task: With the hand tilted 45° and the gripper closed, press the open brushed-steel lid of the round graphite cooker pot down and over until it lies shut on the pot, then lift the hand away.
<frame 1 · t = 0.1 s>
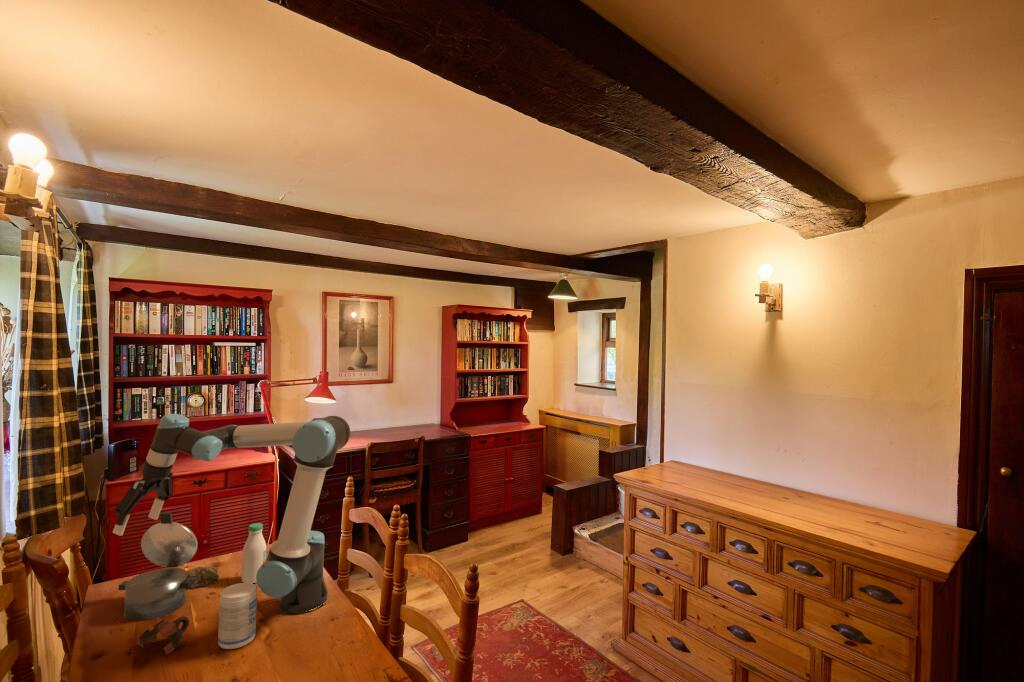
hand: (135, 525, 151), 28 cm above the table, tool tilted 20°, fingers open, 13 cm apart
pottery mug: (165, 646, 136), on the table
supplement tub: (236, 641, 139), on the table
cooker pot: (155, 606, 156), on the table
speckled stone: (200, 581, 174), on the table
milk bottle: (253, 580, 176), on the table
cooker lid: (169, 540, 162), point 19 cm above the table, hinge at 75.0°
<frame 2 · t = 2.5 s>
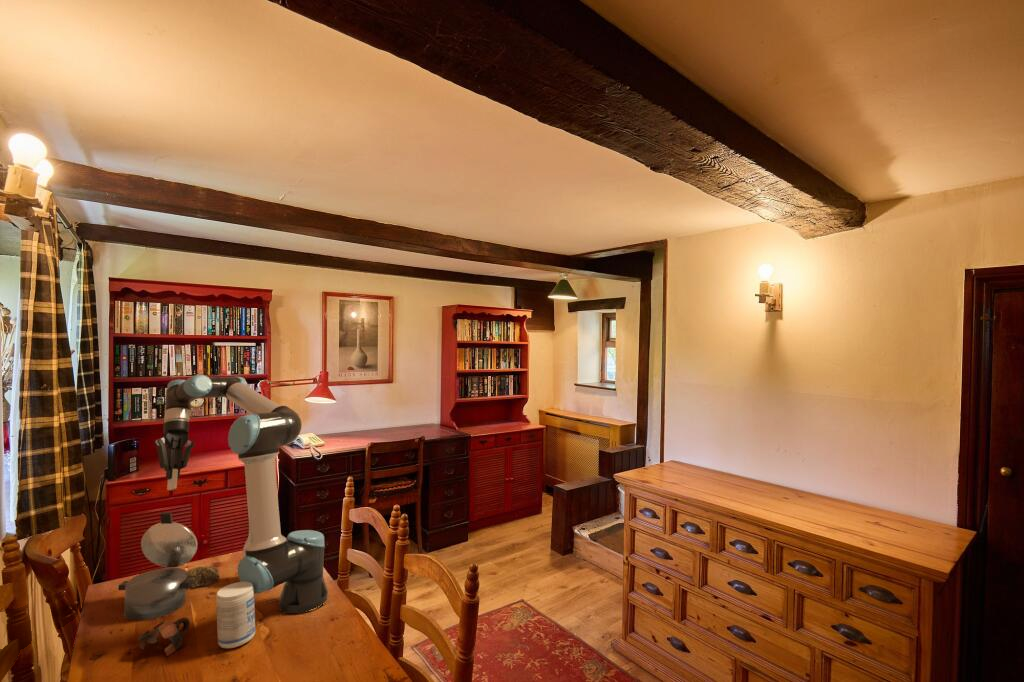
hand: (171, 489, 164), 36 cm above the table, tool tilted 25°, fingers closed
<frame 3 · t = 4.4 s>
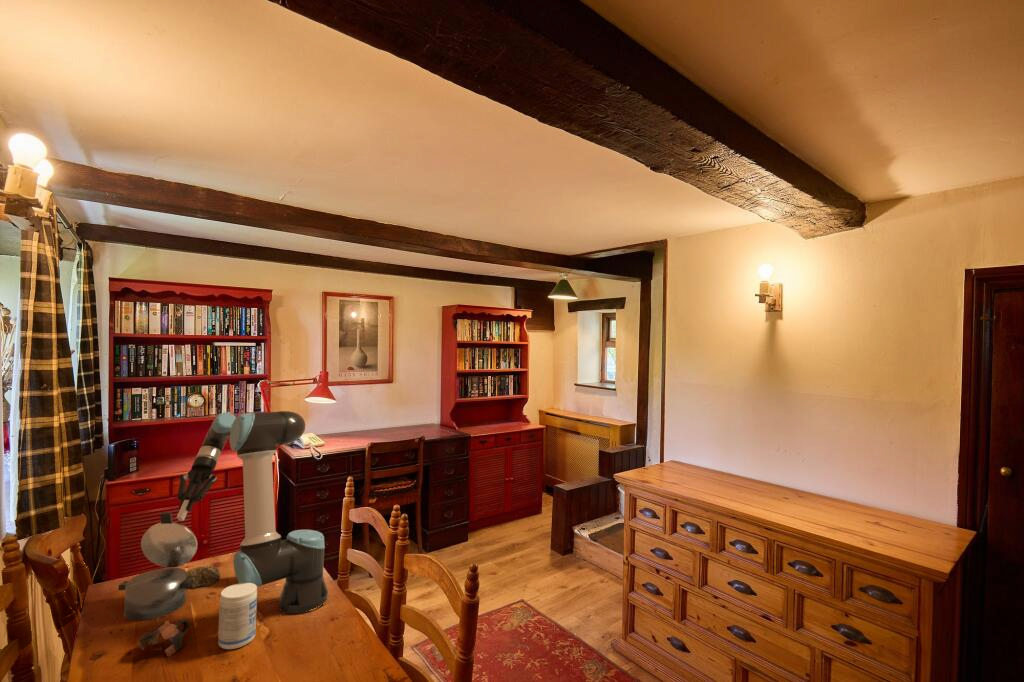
hand: (180, 518, 169), 24 cm above the table, tool tilted 45°, fingers closed
supplement tub: (236, 641, 139), on the table, touching arm
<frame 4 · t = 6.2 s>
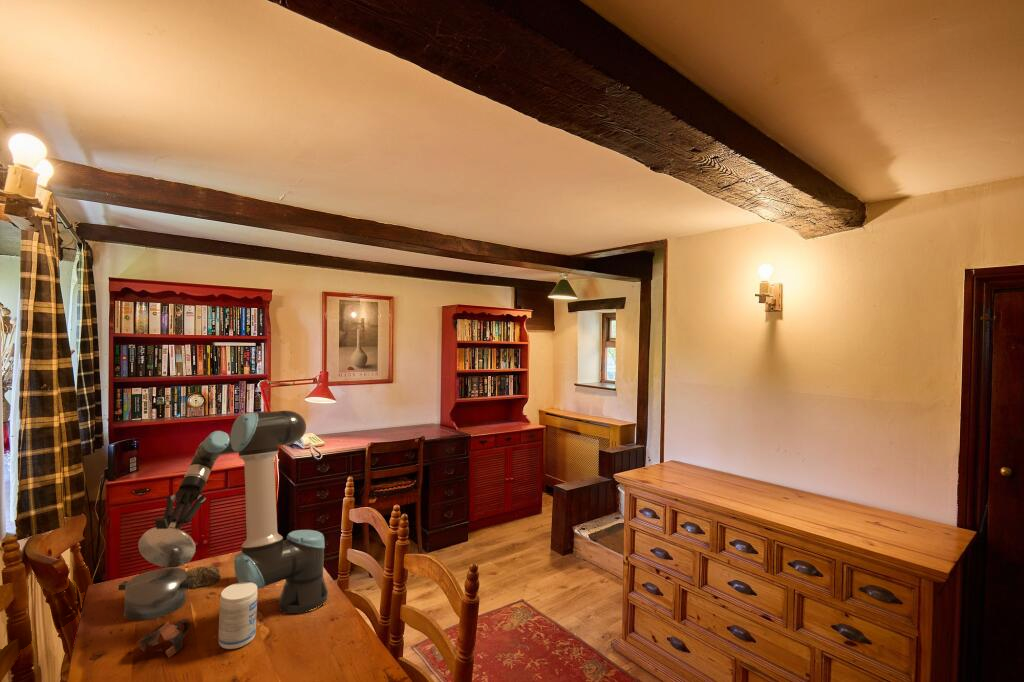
hand: (166, 542, 162), 18 cm above the table, tool tilted 45°, fingers closed
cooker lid: (166, 543, 161), point 19 cm above the table, hinge at 66.3°, touching gripper
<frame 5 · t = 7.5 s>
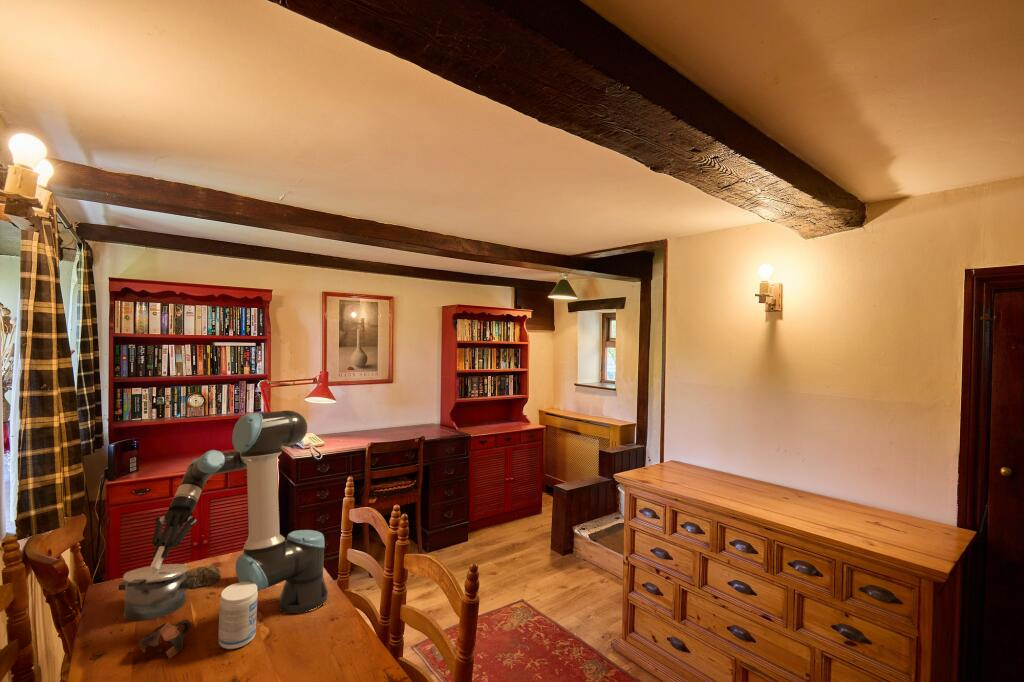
hand: (154, 568, 155), 13 cm above the table, tool tilted 45°, fingers closed
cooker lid: (153, 574, 154), point 11 cm above the table, hinge at 9.3°, touching gripper
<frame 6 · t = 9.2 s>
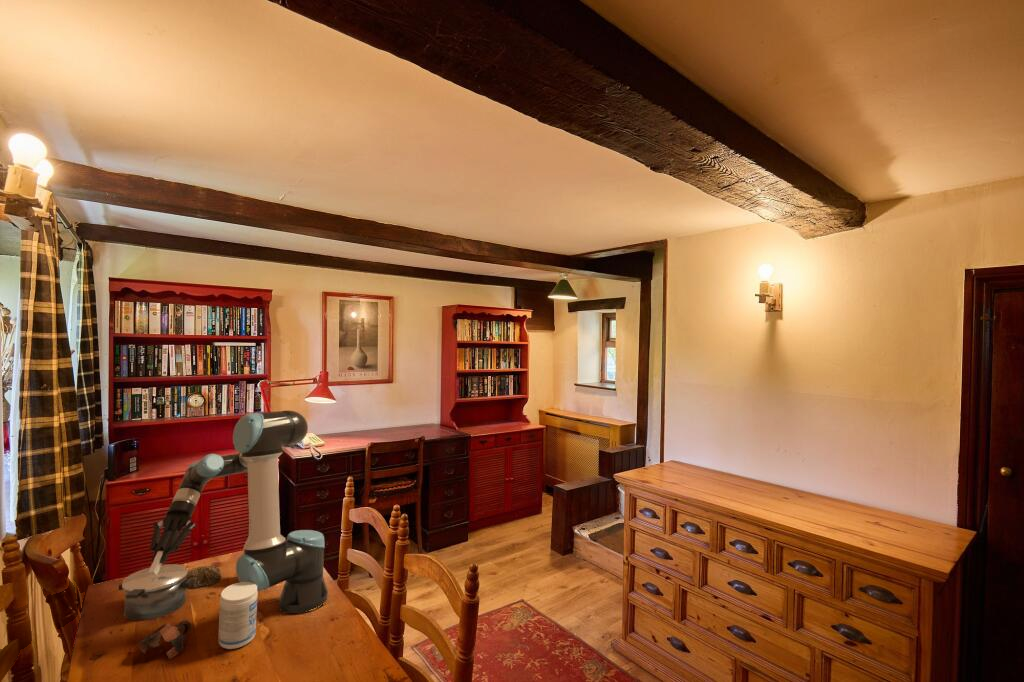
hand: (152, 573, 153), 12 cm above the table, tool tilted 45°, fingers closed
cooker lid: (152, 580, 154), point 10 cm above the table, hinge at -0.1°
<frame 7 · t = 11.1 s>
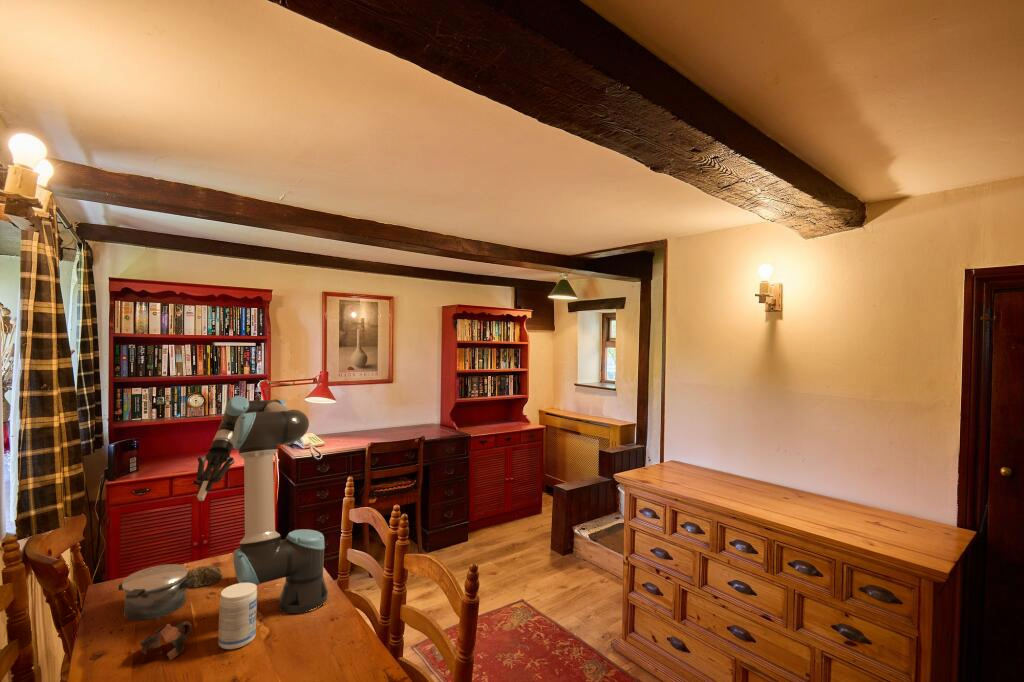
hand: (200, 498, 174), 30 cm above the table, tool tilted 45°, fingers closed
supplement tub: (236, 641, 139), on the table
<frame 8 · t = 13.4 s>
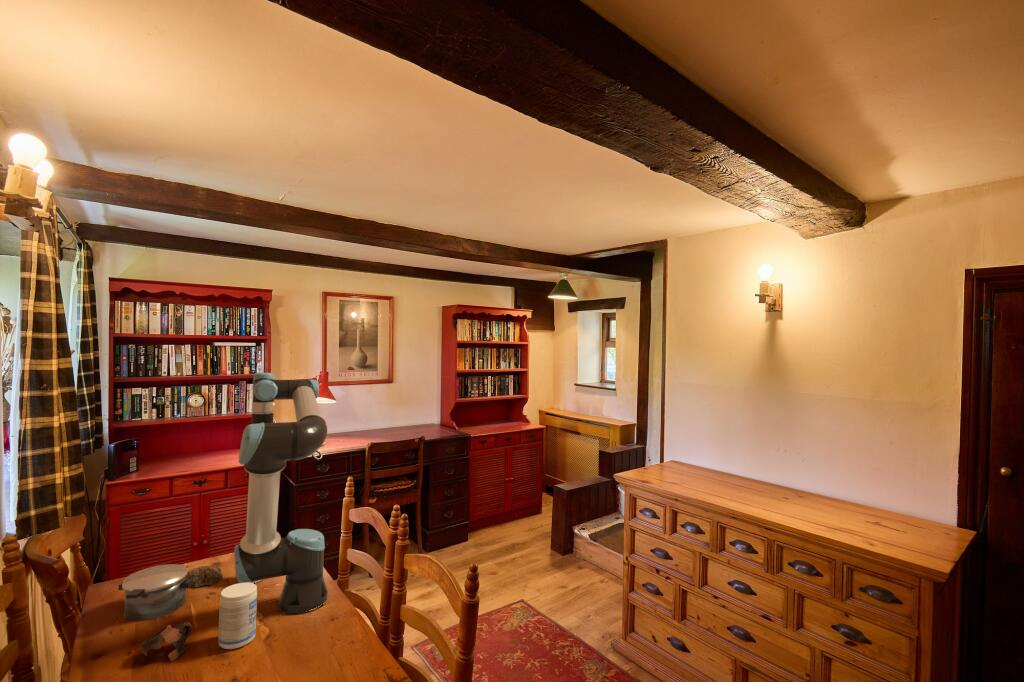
hand: (260, 473, 185), 36 cm above the table, tool pointing down, fingers closed
at the end: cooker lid at +0° (first picture: +75°); speckled stone moved 1.4 cm from its start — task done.
